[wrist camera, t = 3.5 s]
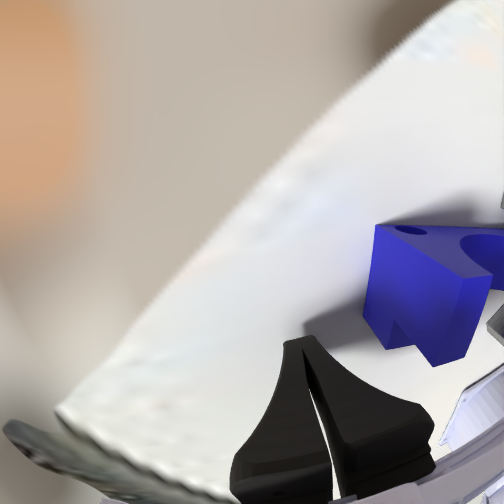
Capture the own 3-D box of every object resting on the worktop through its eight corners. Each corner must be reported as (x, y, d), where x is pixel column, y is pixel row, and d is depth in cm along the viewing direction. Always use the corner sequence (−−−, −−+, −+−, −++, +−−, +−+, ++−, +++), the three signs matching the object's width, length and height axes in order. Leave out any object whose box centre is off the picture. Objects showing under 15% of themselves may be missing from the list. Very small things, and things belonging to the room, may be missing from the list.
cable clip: (360, 313, 13) (417, 399, 7) (373, 223, 11) (462, 278, 6) (502, 291, 13) (556, 333, 8) (516, 228, 12) (580, 259, 6)
